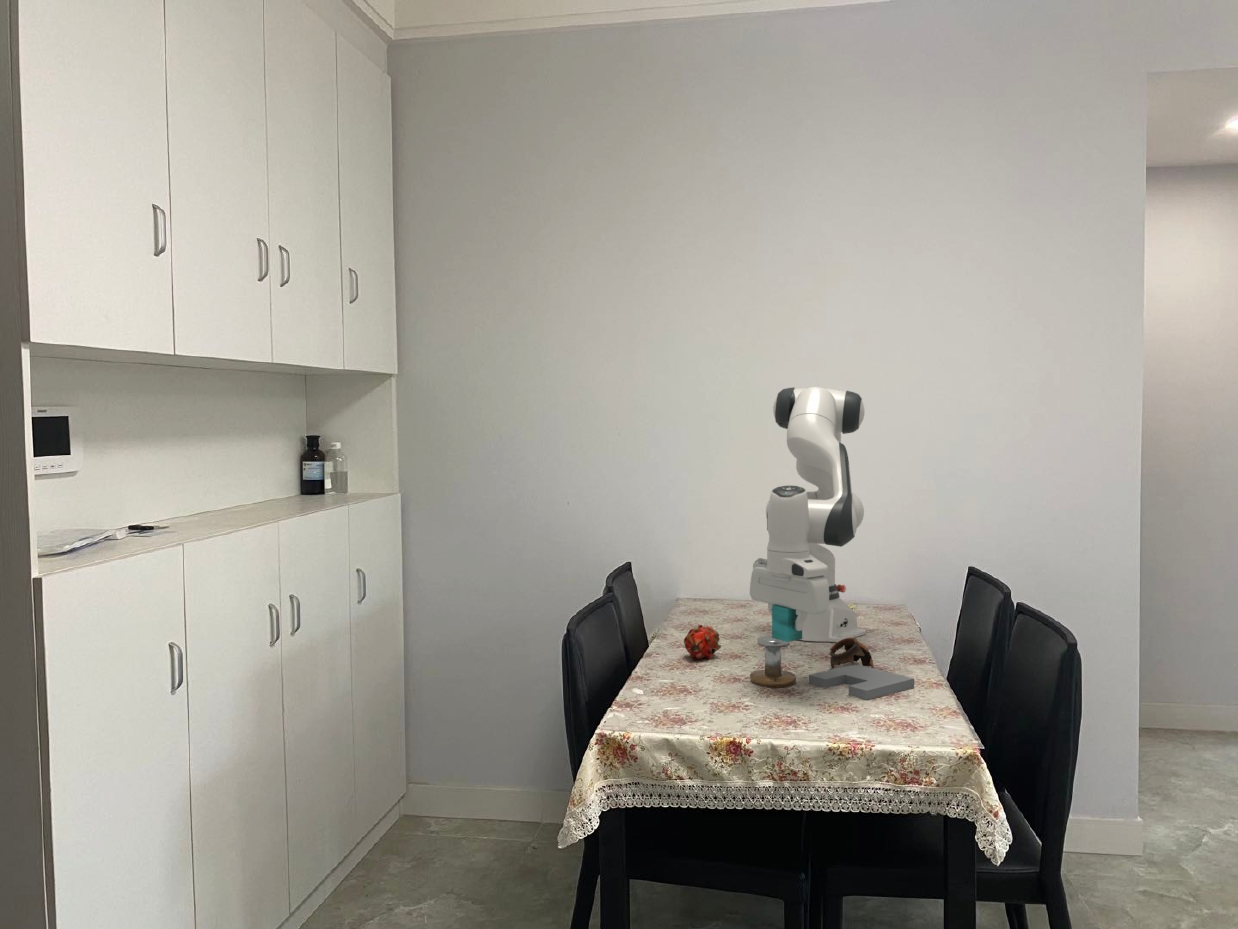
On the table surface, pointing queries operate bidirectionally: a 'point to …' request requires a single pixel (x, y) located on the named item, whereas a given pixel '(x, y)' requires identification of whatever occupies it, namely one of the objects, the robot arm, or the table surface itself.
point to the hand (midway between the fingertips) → (787, 627)
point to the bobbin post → (772, 666)
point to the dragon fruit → (702, 642)
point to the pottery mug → (850, 653)
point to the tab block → (784, 624)
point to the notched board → (862, 681)
